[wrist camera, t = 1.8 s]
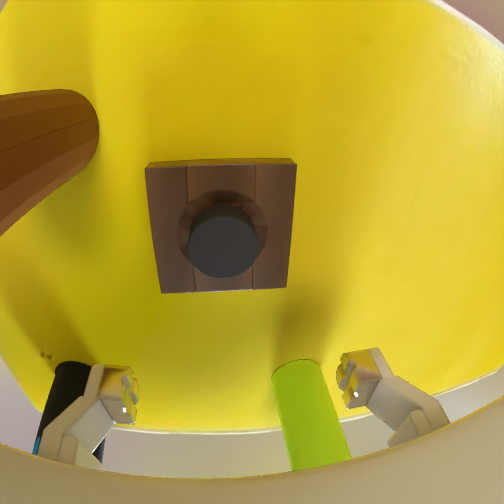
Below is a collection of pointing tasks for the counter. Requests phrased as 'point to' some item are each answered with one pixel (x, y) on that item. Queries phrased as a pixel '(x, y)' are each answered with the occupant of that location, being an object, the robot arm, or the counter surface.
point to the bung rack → (221, 193)
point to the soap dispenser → (308, 416)
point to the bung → (222, 242)
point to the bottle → (41, 146)
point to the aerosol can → (65, 397)
